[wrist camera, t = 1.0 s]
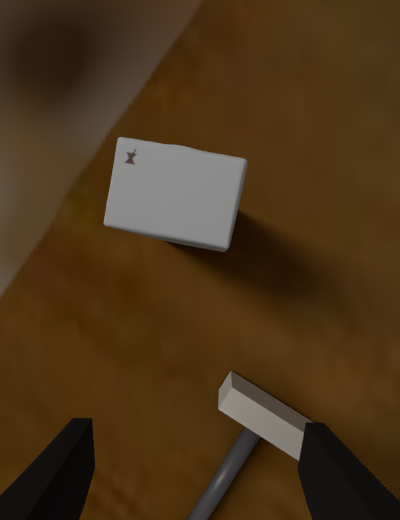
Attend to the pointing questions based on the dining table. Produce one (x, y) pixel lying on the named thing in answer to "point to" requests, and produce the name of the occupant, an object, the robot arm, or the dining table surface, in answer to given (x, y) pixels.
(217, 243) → the skincare box
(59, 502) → the robot arm
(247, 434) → the white ended gray rod
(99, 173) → the dining table surface
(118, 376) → the dining table surface
